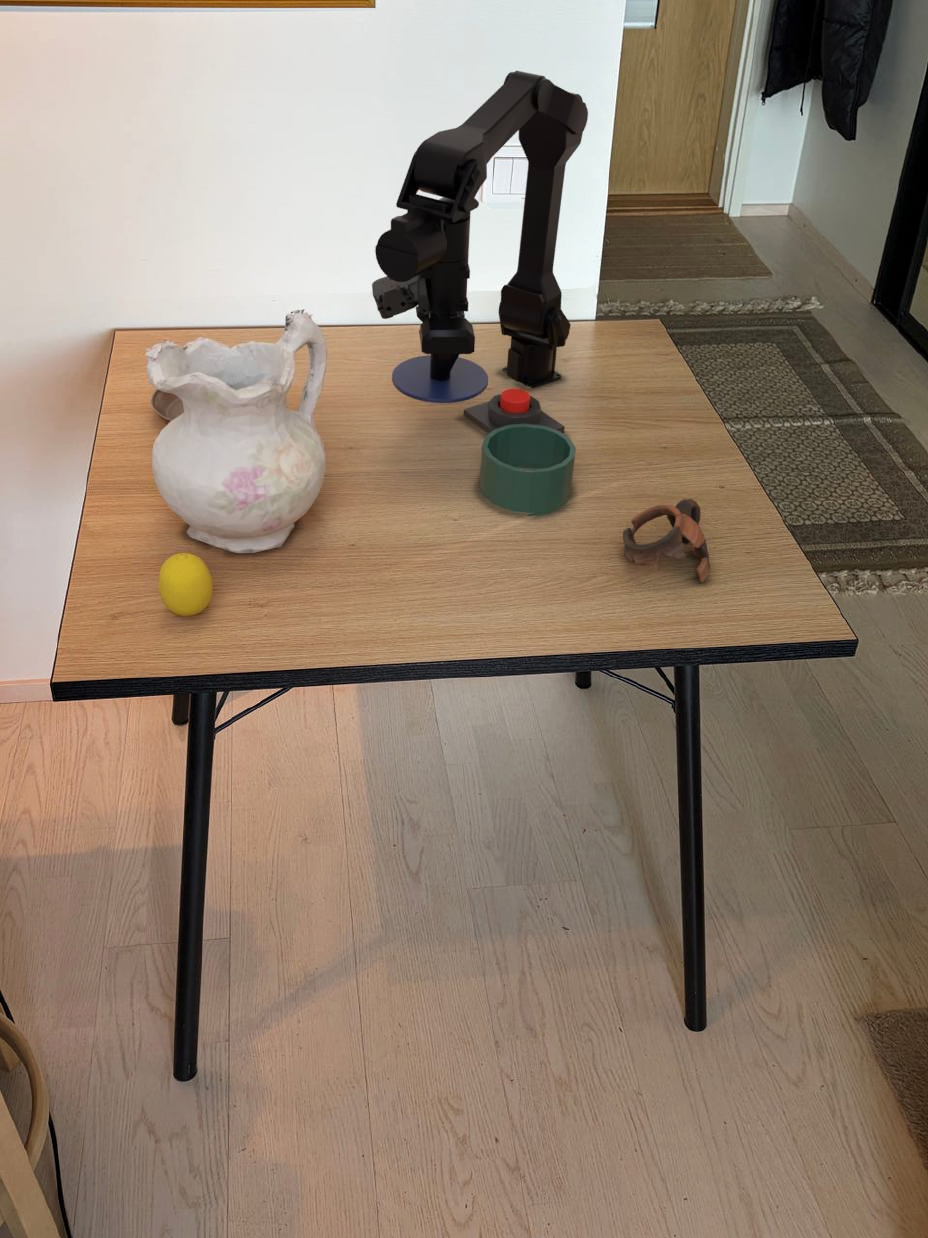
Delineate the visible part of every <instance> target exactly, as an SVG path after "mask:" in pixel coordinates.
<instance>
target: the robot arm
mask: <svg viewBox="0 0 928 1238" xmlns="http://www.w3.org/2000/svg"><path fill="white" fill-rule="evenodd" d="M588 119H589V109H588V106H587V104H586V102H584V100H583V97H582V95H580V94H579V93H574V92H570V91H567V90H566V89H564V88H561V87H560V86H558V85H556V84H554V82H553V81H552V80H550V79H548V78H546V76H545V75H540V74H535V73H530V72H525V71H520V70H515V71H510V72H509V73H508V74H507V75H506V76H505V78H504V81H503V84H502V85H501V86H500V87H499V88H498V89H497V90H496V91H495V92H494V93H493V94H492V95H490V97H488V99H487V100H486V101H485V102H484V103H482V104H481V106H480V107H478V108H477V109H476V110H475V111H474V112H473V113H472V114H471V115H470V116H469V117H468V118H467V119H466V120H465V121H464V122H463V123H461V124H460V125H459V126H457V127H455V128H450V129H445V130H441V131H440V130H439V131H437V132H436V133H434V134H432V135H431V136H429V137H428V138H426V139H424V140H423V141H422V142H421V143H420V144H419V146H418V147H417V149H416V150H415V152H414V153H413V155H412V158H411V160H410V164H409V166H408V169H407V172H406V174H405V178H404V181H403V184H402V186H401V189H400V192H399V195H398V198H397V200H396V204H395V206H396V208H398V209H402V210H406V213H404V214H402V215H397V216H394V217H393V218H391V220H390V229H388V230H387V231H384V232H383V233H382V234H381V235H380V236H379V238H378V240H377V243H376V245H375V249H374V250H375V251H374V252H375V258H376V262H377V264H378V266H379V268H380V270H381V271H382V272H383V274H384V275H385V276H383V277H381V278H378V279H376V280H374V281H373V282H372V283H371V289H372V291H371V292H372V297H373V299H374V302H375V304H376V310H377V312H378V313H379V314H380V317H381V319H383V320H388V319H391V318H393V317H394V316H397V315H400V314H402V313H405V312H406V313H407V311H410V310H413V309H415V313H416V317H417V319H419V321H420V322H421V324H420V325H419V329H418V334H419V341H420V349H421V353H423V354H424V355H431V354H433V359H434V365H435V370H436V376H437V380H446V378H447V377H448V375H449V373H450V371H451V369H452V367H453V366H454V364H455V362H456V360H457V358H458V357H460V355H471V354H473V353H475V347H476V345H475V344H476V336H475V331H474V326H473V324H472V323H471V322H470V320H468V319H467V318H466V313H465V312H469V301H468V279H470V278H471V269H470V265H469V256H470V255H469V254H470V235H471V234H470V233H471V212H472V211H474V210H476V209H477V208H479V206H480V202H479V201H478V199H476V196H477V194H478V192H479V190H480V189H481V187H482V186H483V184H484V183H485V181H486V180H487V178H488V163H490V161H491V159H492V158H493V157H495V155H496V154H497V153H498V152H499V151H500V150H501V149H502V148H503V147H504V146H505V145H506V144H507V143H508V142H509V141H510V140H511V139H512V137H514V135H516V133H517V132H518V141H519V143H520V146H521V149H522V150H523V153H524V156H525V158H526V160H527V172H526V173H527V174H526V182H525V190H524V191H525V192H524V201H523V211H522V222H521V230H520V240H519V250H518V260H517V269H516V272H515V273H514V275H513V276H512V277H511V278H510V280H509V281H508V282H507V284H504V285H503V286H502V287H501V290H500V302H499V304H498V310H497V311H498V319H499V326H500V331H501V335H503V336H507V337H510V346H509V347H510V348H508V349H507V350H508V351H507V364H506V366H505V367H502V369H501V370H502V371H503V372H504V373H506V375H507V376H509V377H510V378H512V379H513V380H514V381H516V382H519V383H521V384H522V385H523V386H525V387H527V388H528V387H529V388H531V389H533V388H536V387H539V386H543V385H547V384H549V383H552V382H556V381H558V380H559V381H560V380H561V379H562V374H560V373H559V372H557V371H556V360H557V359H556V358H557V349H558V348H563V347H565V346H566V342H567V340H568V338H569V335H570V331H571V330H570V329H571V325H572V324H571V323H570V320H568V318H567V316H566V315H565V313H564V312H563V310H562V290H561V288H560V286H559V283H558V281H557V278H556V276H555V274H554V264H555V255H556V248H557V241H558V231H559V223H560V214H561V207H562V206H561V205H562V198H563V190H564V182H565V181H564V180H565V173H566V165H567V162H568V161H569V160H570V159H571V157H572V156H573V155H574V153H575V152H576V151H577V149H578V148H579V147H580V145H581V143H582V139H583V133H584V131H585V129H586V127H587V125H588V124H587V123H588ZM419 191H420V192H422V193H425V194H429V195H433V196H437V197H441V198H439V199H436V198H433V197H428V196H426V195H421V194H418V192H419Z"/></svg>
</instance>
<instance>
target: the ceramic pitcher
mask: <svg viewBox="0 0 928 1238" xmlns="http://www.w3.org/2000/svg"><path fill="white" fill-rule="evenodd" d="M305 310H306V309H296V310H292V311H291V312H290V313H289V312H288V313H287V314H286V316H285V320H284V321H285V324H284V329H283V332H282V335H281V336H280V338H279V339H278V340H277V341H276V342H266V341H265V342H264V341H257V340H250V341H246V342H245V341H244V342H241V343H238V344H236V345H233V346H229V345H227V344H226V343H225V344H224V343H222V342H220V341H217V340H214V339H212V338H210V337H205V336H199V337H198V338H197V339H193V340H190V341H188V342H186V343H185V345H184V346H183V347H182V346H180V345H179V344H177V343H176V342H175V341H172V340H171V341H169V340H167V339H164V342H161V343H160V342H158V343H156V344H154V345H153V346H152V347H151V348H146V349H145V350H146V351H145V354H143V356H146V359H147V363H146V375H147V379H148V380H147V381H148V382H149V384H150V385H151V387H153V388H154V389H155V390H156V389H157V390H160V391H163V392H168V393H173V394H175V395H177V396H178V397H179V398H180V399H181V400H182V402H183V407H184V413H183V414H181V415H180V416H178V417H177V418H175V419H174V420H172V421H171V422H170V423H168V422H167V424H166V425H165V426H164V427H163V428H162V429H161V430H160V432H159V434H158V435H157V437H156V438H155V440H154V443H153V445H152V448H151V449H152V452H151V469H152V473H153V477H154V483H155V486H156V488H157V490H158V492H159V494H160V496H161V498H162V499H163V502H164V503H165V504H166V505H167V507H168V508H169V509H170V510H171V511H172V513H174V514H175V515H176V516H177V517H178V518H180V519H181V520H182V521H183V522H184V523H185V524H186V525H188V526H189V527H188V529H187V530H186V534H187V535H188V537H189V538H191V539H194V540H197V541H199V542H202V543H204V544H208V545H209V546H213V547H216V548H218V549H222V550H225V551H228V552H231V553H235V554H251V553H252V554H254V553H259V552H264V551H268V550H272V549H277V548H282V546H283V545H284V543H285V542H286V541H287V539H288V537H289V536H290V534H291V533H292V531H293V530H294V528H295V526H296V525H295V523H296V522H297V521H298V520H299V519H300V518H302V517H303V516H304V515H305V514H306V513H307V512H308V511H309V510H310V509H311V507H312V506H313V504H314V503H315V500H316V498H317V497H318V495H319V494H320V492H321V489H322V486H323V483H324V480H325V475H326V470H327V463H326V462H327V461H326V452H325V445H324V442H323V440H322V438H321V436H320V434H319V433H318V432H317V430H316V423H315V419H314V414H315V408H316V406H317V404H318V401H319V400H320V397H321V395H322V390H323V385H324V380H325V376H326V371H327V361H328V346H327V341H326V338H325V335H324V333H323V332H324V331H323V330H322V328H320V327H319V325H318V324H317V323H316V322H315V321H314V320H313V318H312V317H313V316H314V314H313V313H312V314H309V313H308V311H305ZM305 346H306V347H307V348H308V357H309V367H308V374H307V377H306V379H305V382H304V385H303V387H302V395H301V401H300V404H299V407H298V409H297V410H293V409H289V407H288V404H287V396H288V393H289V391H290V388H291V387H292V384H293V382H294V377H295V375H296V362H295V355H296V353H297V352H298V351H299V350H300V349H302V348H303V347H305Z"/></svg>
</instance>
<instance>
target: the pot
mask: <svg viewBox="0 0 928 1238" xmlns="http://www.w3.org/2000/svg"><path fill="white" fill-rule="evenodd" d="M576 451H577V448H576V446H575V444H574V443H573V441H572V439H571V438H570V437H569V436H567V435H565V434H564V433H561V432H560V431H557V430H555V429H552V428H549V427H546V426H542V425H533V424H513V425H507V426H504V427H501V428H498V429H495V430H493V431H492V432H491V433H489V434H488V433H487V435H485V436H484V437H483V442H482V445H481V455H480V456H481V457H480V470H479V471H480V474H479V489H480V491H481V493H482V495H483V497H484V498H486V499H487V500H488V501H489V502H490V503H492V505H494V506H497V507H499V508H502V509H505V510H507V511H510V512H517V513H518V512H519V513H526V514H527V515H526V517H536V516H544V515H548V514H553V513H555V512H557V511H558V510H560V509H563V508H564V507H565V506H566V505H567V503H568V502H569V499H570V497H571V492H572V485H573V476H574V467H575V459H576ZM524 467H525V468H524ZM527 467H529V468H527Z"/></svg>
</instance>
